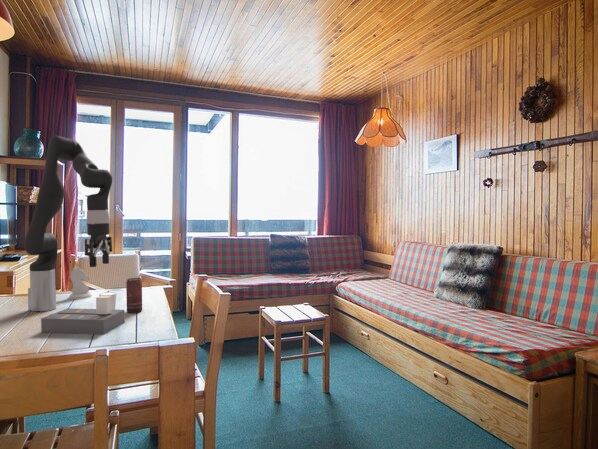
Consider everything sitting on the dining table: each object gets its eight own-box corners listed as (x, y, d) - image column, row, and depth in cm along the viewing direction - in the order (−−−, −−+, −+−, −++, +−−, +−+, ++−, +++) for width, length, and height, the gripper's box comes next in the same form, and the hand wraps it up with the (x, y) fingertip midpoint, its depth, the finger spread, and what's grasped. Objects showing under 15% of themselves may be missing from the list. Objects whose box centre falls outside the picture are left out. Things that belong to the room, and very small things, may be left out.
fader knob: (96, 319, 143) (96, 297, 142) (101, 317, 146) (100, 295, 145) (107, 319, 143) (106, 297, 142) (111, 317, 146) (111, 296, 145)
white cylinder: (120, 308, 172) (120, 292, 172) (108, 312, 166) (107, 295, 166) (108, 307, 175) (107, 291, 174) (95, 310, 168) (95, 294, 168)
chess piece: (92, 297, 192) (91, 267, 192) (68, 300, 187) (68, 269, 187) (91, 294, 201) (90, 265, 200) (68, 296, 196) (68, 266, 195)
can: (137, 313, 164) (136, 280, 163) (123, 312, 165) (123, 279, 164) (145, 310, 170) (145, 278, 169) (132, 309, 171) (132, 277, 170)
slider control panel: (41, 332, 139) (41, 318, 139) (67, 321, 153) (67, 308, 152) (103, 334, 137) (103, 319, 137) (124, 322, 151) (124, 309, 151)
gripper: (99, 222, 155) (100, 262, 155) (76, 223, 141) (78, 268, 141) (117, 221, 154) (119, 262, 155) (97, 222, 140) (98, 267, 141)
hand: (99, 265), depth 148 cm, fingers open, 8 cm apart
